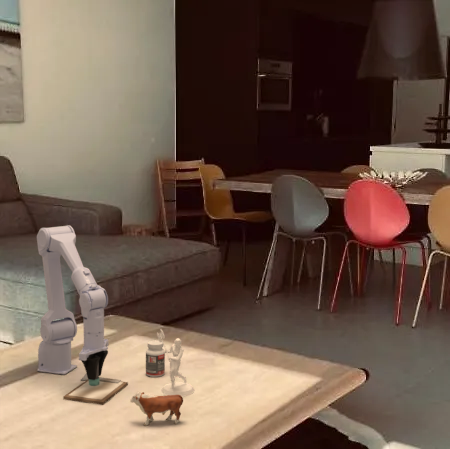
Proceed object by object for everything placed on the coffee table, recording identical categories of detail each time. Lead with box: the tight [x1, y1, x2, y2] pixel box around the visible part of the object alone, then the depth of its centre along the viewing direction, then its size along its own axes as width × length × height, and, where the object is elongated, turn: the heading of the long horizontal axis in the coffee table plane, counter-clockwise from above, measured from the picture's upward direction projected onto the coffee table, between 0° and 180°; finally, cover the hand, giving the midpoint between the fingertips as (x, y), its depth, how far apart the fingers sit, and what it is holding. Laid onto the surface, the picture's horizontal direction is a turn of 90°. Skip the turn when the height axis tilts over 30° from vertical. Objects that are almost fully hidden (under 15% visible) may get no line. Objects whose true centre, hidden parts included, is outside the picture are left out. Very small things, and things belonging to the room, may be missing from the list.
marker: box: [89, 356, 100, 386], centre depth 215 cm, size 3×3×8 cm
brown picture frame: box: [62, 376, 129, 406], centre depth 212 cm, size 12×16×1 cm
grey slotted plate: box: [80, 372, 88, 382], centre depth 224 cm, size 4×6×1 cm, turn 173°
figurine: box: [156, 328, 195, 397], centre depth 213 cm, size 10×10×18 cm
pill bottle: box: [145, 339, 166, 378], centre depth 227 cm, size 6×6×10 cm
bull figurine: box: [130, 391, 184, 427], centre depth 192 cm, size 4×13×8 cm, turn 95°
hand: (94, 377), depth 215 cm, fingers closed on marker, 3 cm apart
